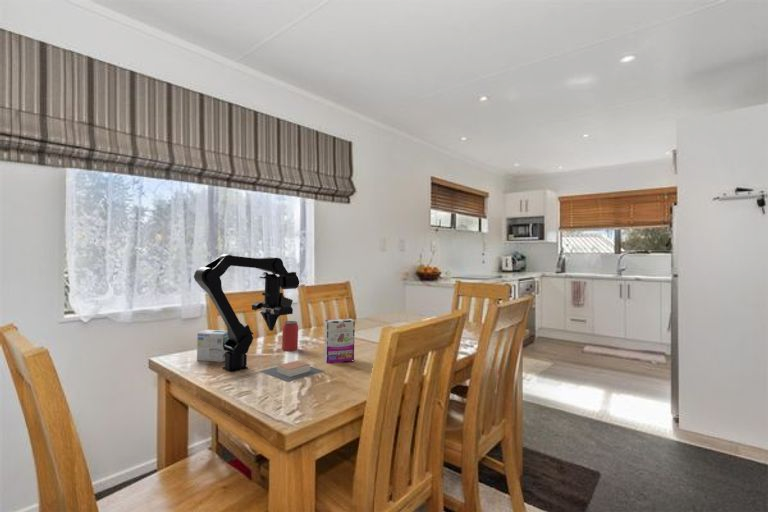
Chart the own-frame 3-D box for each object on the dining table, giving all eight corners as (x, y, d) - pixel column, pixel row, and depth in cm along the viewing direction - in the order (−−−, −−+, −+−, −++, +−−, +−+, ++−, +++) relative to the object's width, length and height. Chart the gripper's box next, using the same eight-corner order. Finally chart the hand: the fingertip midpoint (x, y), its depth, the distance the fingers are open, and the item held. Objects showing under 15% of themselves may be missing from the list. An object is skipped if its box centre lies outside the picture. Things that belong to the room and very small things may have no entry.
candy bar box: (350, 358, 154) (351, 318, 154) (354, 361, 150) (355, 320, 150) (323, 360, 150) (324, 319, 150) (326, 364, 146) (327, 321, 145)
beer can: (295, 352, 161) (296, 323, 161) (279, 351, 161) (280, 323, 161) (299, 348, 168) (300, 321, 168) (284, 347, 168) (285, 320, 168)
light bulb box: (231, 357, 150) (232, 330, 150) (222, 362, 144) (223, 334, 144) (205, 356, 151) (206, 329, 151) (195, 360, 145) (196, 332, 145)
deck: (277, 372, 133) (289, 376, 129) (277, 365, 133) (289, 369, 129) (297, 366, 140) (310, 370, 136) (297, 360, 140) (310, 364, 136)
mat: (287, 383, 124) (287, 382, 124) (259, 372, 134) (259, 371, 134) (324, 371, 136) (324, 371, 136) (296, 362, 146) (296, 361, 146)
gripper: (304, 290, 147) (303, 331, 147) (275, 287, 158) (274, 324, 158) (280, 292, 138) (279, 335, 138) (251, 288, 150) (250, 328, 150)
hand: (271, 330), depth 146 cm, fingers closed
